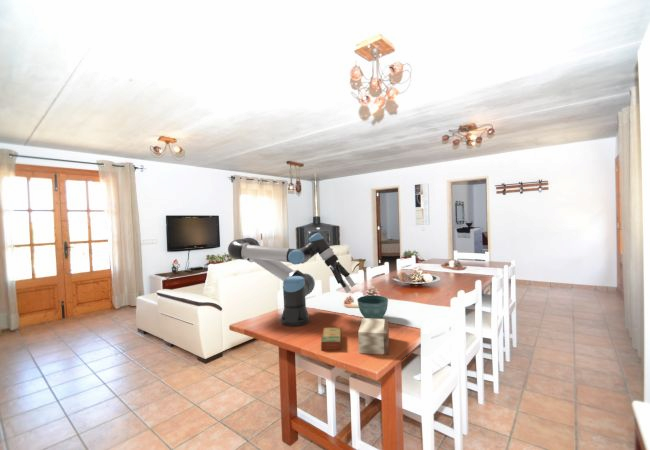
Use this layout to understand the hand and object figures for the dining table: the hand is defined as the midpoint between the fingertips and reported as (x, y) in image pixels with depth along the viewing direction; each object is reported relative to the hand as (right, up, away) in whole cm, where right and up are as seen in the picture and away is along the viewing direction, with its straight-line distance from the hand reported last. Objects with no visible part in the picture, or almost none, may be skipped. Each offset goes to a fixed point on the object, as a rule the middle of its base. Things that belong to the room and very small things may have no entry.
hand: (351, 288), depth 167 cm
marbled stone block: (+6, -16, -38) cm, 42 cm away
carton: (-12, -17, -34) cm, 40 cm away
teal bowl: (+11, -15, -6) cm, 20 cm away
